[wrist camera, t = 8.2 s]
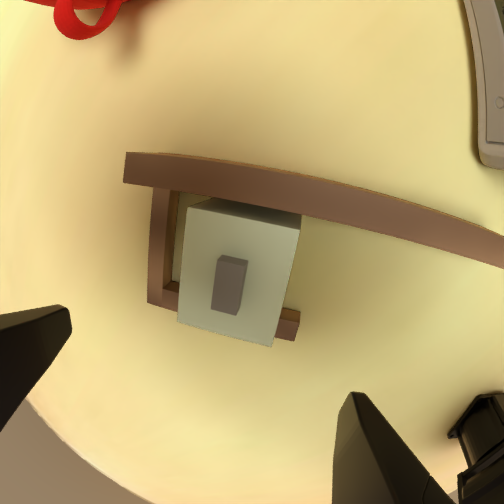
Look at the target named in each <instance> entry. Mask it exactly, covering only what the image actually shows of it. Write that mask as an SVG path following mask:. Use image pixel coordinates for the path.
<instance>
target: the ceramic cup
mask: <svg viewBox="0 0 504 504" xmlns="http://www.w3.org/2000/svg"><path fill="white" fill-rule="evenodd" d="M25 1H29V2H33V3H37V4H41V5H46V6H51V7H55V8H54V22H55V25H56V27H57V28H58V30H59V31H60V32H61V33H62V34H63V35H65V36H66V37H68V38H71V39H75V40H84V39H88V38H91V37H93V36H95V35H98V34H99V33H101V32H102V31H104V30H105V29H106V28H107V27H108V26H109V25H110V24H111V23H112V22H113V20H114V18H115V17H116V15H117V13H118V10H119V8H120V6H121V3H122V2H126V1H130V0H25ZM103 7H105V8H104V11H103V13H102V15H101V17H100V19H99V21H98V22H97V24H96V25H95V26H89V25H86V24H84V23H83V22H81V21H80V20H79V19H78V17H77V16H76V14H75V12H74V9H76V10H84V9H94V8H103Z"/></svg>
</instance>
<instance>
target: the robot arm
mask: <svg viewBox="0 0 504 504" xmlns="http://www.w3.org/2000/svg"><path fill="white" fill-rule="evenodd" d="M71 333H72V325H71V319H70V313H69V310H68V309H67V308H66V307H64V306H62V305H59V304H58V305H52V306H46V307H41V308H35V309H30V310H24V311H19V312H13V313H7V314H2V315H0V432H1V431H2V429H3V427H4V426H5V425H6V423H7V422H8V420H9V419H10V418H11V416H12V415H13V414H14V412H15V411H16V409H17V408H18V407H19V405H20V404H21V403H22V401H23V400H24V399H25V397H26V396H27V395H28V393H29V392H30V391H31V389H32V388H33V387H34V386H35V384H36V383H37V382H38V380H39V379H40V378H41V377H42V375H43V374H44V373H45V372H46V370H47V369H48V368H49V366H50V365H51V364H52V362H53V361H54V359H55V358H56V356H57V355H58V353H59V352H60V350H61V349H62V347H63V346H64V344H65V343H66V341H67V340H68V338H69V337H70V335H71ZM447 436H448V438H449V439H451V438H458V439H459V442H460V445H461V448H462V450H463V453H464V456H465V459H466V462H467V465H468V469H467V470H465V471H464V472H461V473H459V474H458V475H457V478H458V481H457V485H458V499H459V504H504V394H495V395H480V396H478V397H476V399H475V400H474V401H473V403H472V404H471V405H470V407H469V408H468V409H467V411H466V412H465V413H464V415H463V416H462V417H461V418H460V420H459V421H458V422H457V423H456V425H455V426H454V427H453V428H452V430H451V431H450V432H449V433H448V434H447ZM332 504H456V503H455V502H454V501H453V500H452V499H451V498H450V497H449V496H448V495H447V494H446V493H445V491H444V490H443V489H442V488H441V487H440V486H439V484H438V483H437V482H436V481H435V479H434V478H433V477H432V476H430V473H429V472H428V471H427V470H426V468H425V467H424V466H423V465H422V463H421V462H420V461H419V460H418V458H417V457H416V456H415V455H414V454H413V452H412V451H411V450H410V449H409V447H408V446H407V445H406V444H405V442H404V441H403V440H402V439H401V437H400V436H399V435H398V434H397V432H396V431H395V430H394V429H393V427H392V426H391V425H390V424H389V422H388V421H387V420H386V419H385V417H384V416H383V415H382V414H381V412H380V411H379V410H378V409H377V407H376V406H375V405H374V404H373V402H372V401H371V400H370V399H369V398H368V396H367V395H366V394H365V393H362V392H354V391H353V392H350V393H349V395H348V396H347V398H346V400H345V402H344V404H343V406H342V407H341V409H340V411H339V415H338V422H337V432H336V440H335V449H334V457H333V483H332Z"/></svg>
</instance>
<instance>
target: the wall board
mask: <svg viewBox="0 0 504 504" xmlns="http://www.w3.org/2000/svg"><path fill="white" fill-rule="evenodd" d="M123 183H128V184H135V185H142V186H149V187H154V189H153V198H152V209H151V221H150V236H149V254H148V283H147V303H150V304H153V305H156V306H159V307H163V308H166V309H169V310H172V311H176V312H178V301H179V287H180V283H178V282H174V281H171V278H172V263H173V250H174V239H175V228H176V218H177V209H178V200H179V192H180V191H181V192H187V193H193V194H199V195H205V196H210V197H216V198H221V199H227V200H232V201H238V202H243V203H248V204H253V205H258V206H263V207H268V208H273V209H278V210H283V211H288V212H292V213H297V214H302V215H306V216H311V217H315V218H320V219H324V220H328V221H333V222H337V223H341V224H345V225H350V226H354V227H358V228H362V229H366V230H370V231H374V232H378V233H382V234H386V235H390V236H393V237H397V238H401V239H405V240H408V241H412V242H416V243H419V244H423V245H427V246H430V247H434V248H437V249H441V250H444V251H448V252H451V253H454V254H458V255H461V256H464V257H468V258H471V259H474V260H477V261H480V262H484V263H487V264H490V265H493V266H496V267H499V268H502V269H504V236H502V235H500V234H498V233H496V232H493V231H491V230H489V229H487V228H484V227H482V226H479V225H476V224H474V223H471V222H469V221H466V220H463V219H460V218H458V217H455V216H452V215H449V214H446V213H443V212H440V211H437V210H434V209H431V208H428V207H425V206H422V205H419V204H416V203H412V202H409V201H406V200H403V199H399V198H396V197H392V196H389V195H385V194H382V193H378V192H374V191H371V190H367V189H363V188H359V187H355V186H352V185H348V184H343V183H339V182H335V181H331V180H327V179H322V178H318V177H313V176H309V175H304V174H299V173H294V172H289V171H284V170H279V169H274V168H268V167H263V166H257V165H251V164H245V163H239V162H233V161H226V160H219V159H212V158H205V157H197V156H189V155H180V154H171V153H143V152H126V159H125V168H124V178H123ZM299 323H300V312H298V311H293V310H288V309H284V308H282V309H281V313H280V317H279V321H278V325H277V329H276V332H275V336H274V337H276V338H280V339H285V340H289V341H294V340H295V337H296V333H297V330H298V327H299Z"/></svg>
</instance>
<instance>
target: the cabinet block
mask: <svg viewBox="0 0 504 504" xmlns="http://www.w3.org/2000/svg"><path fill="white" fill-rule="evenodd" d="M300 227H301V214H297V213H292V212H288V211H283V210H278V209H273V208H268V207H263V206H258V205H253V204H248V203H243V202H238V201H232V200H227V199H221V198H216V197H214V198H211V199H209V200H206V201H203V202H200V203H197V204H195V205H192V206H189V207H187V215H186V223H185V232H184V242H183V252H182V262H181V274H180V287H179V301H178V318H177V322H180V323H183V324H186V325H189V326H193V327H196V328H200V329H203V330H207V331H210V332H214V333H217V334H221V335H225V336H228V337H232V338H236V339H240V340H244V341H248V342H252V343H256V344H260V345H264V346H269V347H272V344H273V340H274V336H275V332H276V329H277V325H278V321H279V317H280V313H281V309H282V305H283V301H284V297H285V293H286V289H287V285H288V281H289V277H290V272H291V268H292V264H293V260H294V255H295V251H296V247H297V242H298V238H299V233H300Z"/></svg>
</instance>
